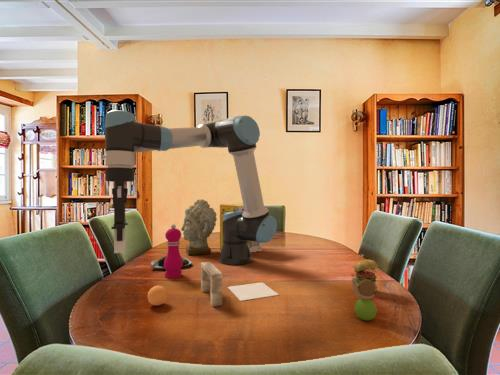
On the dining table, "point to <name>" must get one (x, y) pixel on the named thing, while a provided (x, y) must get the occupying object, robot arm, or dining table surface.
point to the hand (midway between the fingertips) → (120, 250)
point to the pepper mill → (173, 253)
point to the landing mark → (252, 291)
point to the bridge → (211, 282)
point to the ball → (157, 295)
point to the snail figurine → (364, 299)
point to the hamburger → (364, 274)
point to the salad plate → (160, 264)
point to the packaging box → (223, 209)
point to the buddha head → (198, 227)
